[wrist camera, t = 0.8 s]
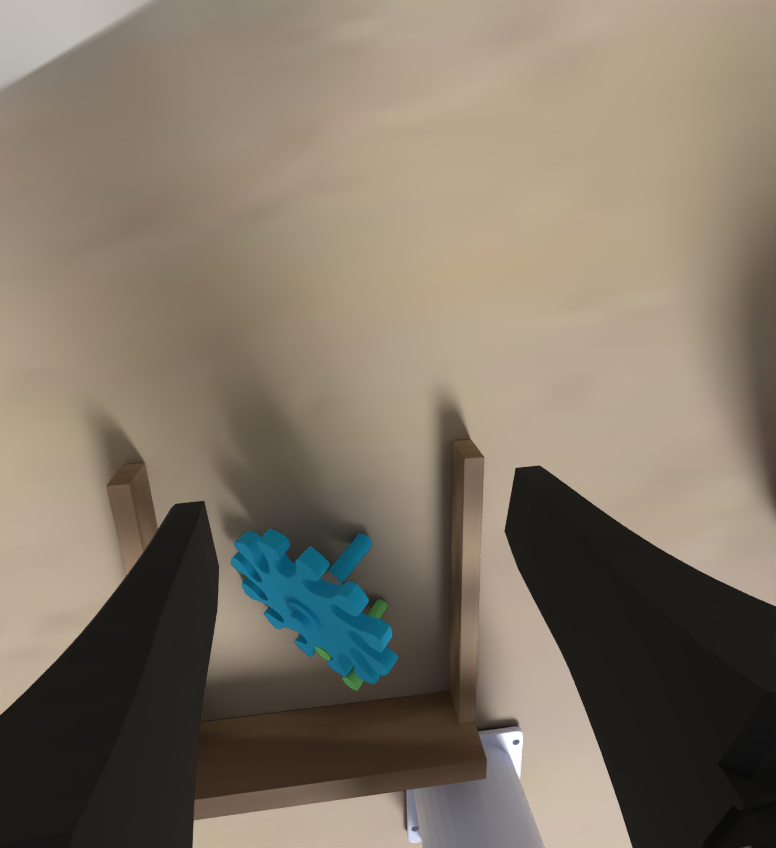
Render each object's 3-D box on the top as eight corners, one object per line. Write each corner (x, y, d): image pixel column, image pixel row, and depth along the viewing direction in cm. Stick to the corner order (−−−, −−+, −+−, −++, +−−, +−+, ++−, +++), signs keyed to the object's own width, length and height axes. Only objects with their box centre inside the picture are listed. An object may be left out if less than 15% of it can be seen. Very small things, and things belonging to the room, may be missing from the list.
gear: (191, 530, 27) (334, 579, 21) (271, 459, 31) (412, 483, 25) (279, 664, 33) (414, 734, 26) (338, 590, 36) (468, 636, 30)
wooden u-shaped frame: (463, 707, 36) (486, 778, 31) (182, 742, 34) (161, 824, 29) (470, 439, 29) (500, 478, 25) (124, 464, 27) (84, 512, 23)
